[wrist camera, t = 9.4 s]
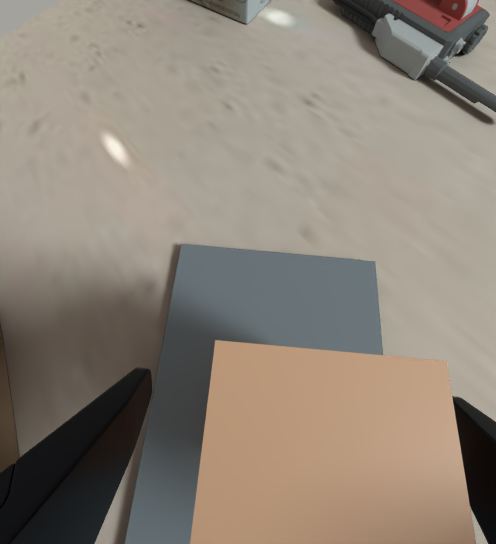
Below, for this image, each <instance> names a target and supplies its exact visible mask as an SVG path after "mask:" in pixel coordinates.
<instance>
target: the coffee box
mask: <svg viewBox="0 0 496 544" xmlns="http://www.w3.org/2000/svg"><path fill="white" fill-rule="evenodd" d="M191 1H193V2H195V3H198V4H200V5H203V6H205V7H207V8H209V9H212V10H214V11H216V12H219V13H221V14H223V15H226V16H228V17H230V18H233V19H235V20H237V21H240V22H242V23H245V24H248V23H249V22H250V21H251V20H252V19H253V18H254V17H255V16H256V15H257V14H258V13H259V12H260V11H261V10H262V9H263V8H264V7H265V6H266V5H267V3H268V2H269V1H270V0H191Z"/></svg>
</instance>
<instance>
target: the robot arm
mask: <svg viewBox="0 0 496 544" xmlns="http://www.w3.org/2000/svg"><path fill="white" fill-rule="evenodd" d="M151 394H152V379H151V371H150V369H148V368H135V369H134V370H132V371H131V372H130V373H129V374H127V375H126V376H125V377H123V378H122V379H121V380H120V381H118V382H117V383H116V384H114V385H113V386H112V387H111V388H109V389H108V390H107V391H105V392H104V393H103V394H101V395H100V396H99V397H98V398H96V399H95V400H94V401H92V402H91V403H90V404H89V405H87V406H86V407H85V408H83V409H82V410H81V411H79V412H78V413H77V414H76V415H74V416H73V417H72V418H70V419H69V420H68V421H67V422H65V423H64V424H63V425H61V426H60V427H59V428H58V429H56V430H55V431H54V432H52V433H51V434H50V435H48V436H47V437H46V438H45V439H43V440H42V441H41V442H39V443H38V444H37V445H36V446H34V447H33V448H32V449H30V450H29V451H28V452H26V453H25V454H24V455H23V456H21V457H20V458H19V459H17V460H16V462H15V463H12V464H11V465H9V466H8V467H7V468H6V469H4V470H3V471H2V472H0V544H94V543H95V541H96V538H97V536H98V534H99V531H100V529H101V527H102V524H103V522H104V520H105V517H106V515H107V513H108V510H109V508H110V506H111V503H112V501H113V498H114V496H115V494H116V491H117V489H118V487H119V484H120V482H121V480H122V477H123V475H124V473H125V470H126V468H127V466H128V463H129V461H130V459H131V456H132V454H133V451H134V449H135V446H136V443H137V440H138V437H139V433H140V430H141V427H142V424H143V420H144V417H145V414H146V411H147V408H148V404H149V401H150V398H151ZM452 398H453V404H454V410H455V417H456V423H457V429H458V435H459V441H460V447H461V454H462V460H463V466H464V472H465V478H466V484H467V491H468V497H469V503H470V507H471V509H472V511H473V513H474V515H475V517H476V519H477V521H478V523H479V525H480V528H481V530H482V532H483V534H484V536H485V538H486V540H487V542H488V544H496V422H495V421H494V420H492V419H491V418H489V417H488V416H486V415H485V414H483V413H482V412H481V411H479V410H478V409H476V408H475V407H473V406H472V405H471V404H469V403H468V402H466V401H465V400H463V399H462V398H460V397H454V396H452Z"/></svg>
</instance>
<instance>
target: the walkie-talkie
mask: <svg viewBox="0 0 496 544" xmlns="http://www.w3.org/2000/svg"><path fill="white" fill-rule="evenodd" d="M333 1H334V2H335V3H336V4H338V5H339V6H341V7H342V9H341V11H342V16H345V17H346V18H348V19H350V21H353V22H354V23H355V24H358V26H361V27H362V28H363V29H366V30H367V32H370V33H372V35H373V36H374V37H376V39H375V43H376V45H377V48H378V51H379V53H380V56H382V57H383V58H385V59H386V60H388V61H389V62H391V63H392V64H394V65H395V66H397V67H398V68H400V69H401V70H403V71H404V72H406V73H408V75H409V77H411V78H412V79H414V80H416V79H417V78H419V77H420V76H422V75H423V74H425V75H427V76H428V77H430V78H431V79H433V80H436V79H437V80H439V81H440V82H442V83H443V84H445V85H446V86H448V87H450V88H451V89H453V90H454V91H456V92H457V93H459V94H460V95H462V96H463V97H465V98H467V99H468V100H470V101H471V102H473V103H477V102H480V103H482V104H483V105H485V106H487V107H488V108H490V109H491V110H493V111H495V112H496V96H495V95H494V94H492V93H490V92H489V91H487V90H486V89H484V88H482V87H481V86H479V85H478V84H476V83H474V82H473V81H471V80H470V79H468V78H466V77H465V76H463V75H462V74H460V73H458V72H457V71H455V70H454V69H452V68H450V67H449V66H448V63H450V62H451V60H450V59H451V58H452V57H454V56H455V55H456V54H458V53H459V52H460V51H461V50H463V51H462V53H464V54H468V53H470V52H471V51H472V50H473V49H474V48H475V47H476V45H477V44H478V43H479V42H480V40H481V39H482V38H483V36H484V35H485V34H486V32H487V29H488V26H486V25H483V24H484V23H485V21H486V20H487V18H488V17H489V16H490V14H489V13H488V12H487V11H486V10H485V9H483V8H482V7H480V6H478V5H477V4H478V2H479V0H333Z"/></svg>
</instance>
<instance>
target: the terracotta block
mask: <svg viewBox="0 0 496 544" xmlns="http://www.w3.org/2000/svg"><path fill="white" fill-rule="evenodd" d="M190 544H476V540H475V534H474V528H473V522H472V515H471V509H470V503H469V497H468V491H467V484H466V478H465V472H464V466H463V460H462V454H461V447H460V441H459V435H458V429H457V423H456V417H455V410H454V404H453V398H452V392H451V386H450V379H449V373H448V367H447V361H439V360H428V359H417V358H406V357H395V356H384V355H374V354H363V353H352V352H341V351H330V350H319V349H308V348H297V347H286V346H275V345H264V344H253V343H242V342H231V341H220V340H215V347H214V355H213V363H212V371H211V379H210V387H209V395H208V403H207V411H206V419H205V427H204V435H203V443H202V451H201V459H200V467H199V475H198V483H197V491H196V500H195V508H194V516H193V524H192V532H191V540H190Z"/></svg>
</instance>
